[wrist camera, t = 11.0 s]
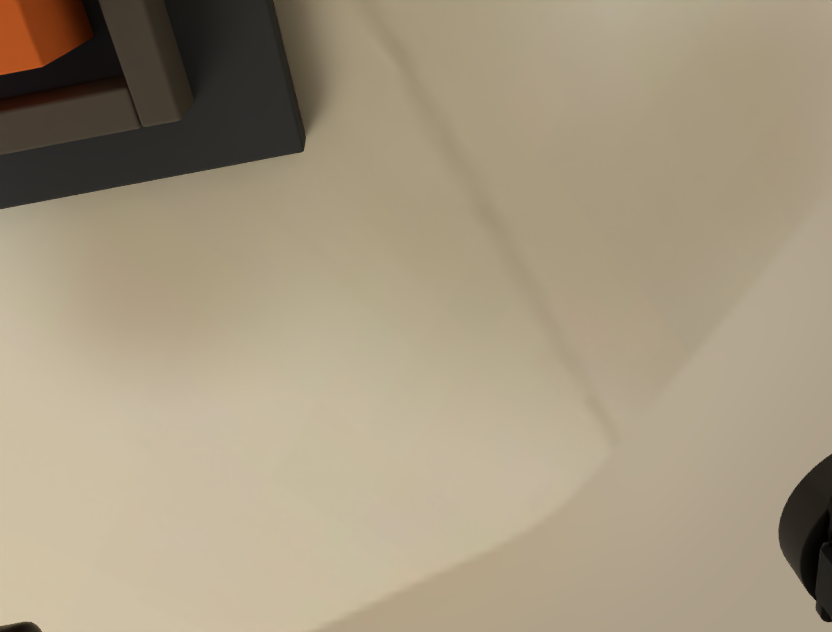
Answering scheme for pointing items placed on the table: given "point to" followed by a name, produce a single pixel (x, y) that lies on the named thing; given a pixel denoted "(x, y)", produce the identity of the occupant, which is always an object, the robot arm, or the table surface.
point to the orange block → (40, 32)
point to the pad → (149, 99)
